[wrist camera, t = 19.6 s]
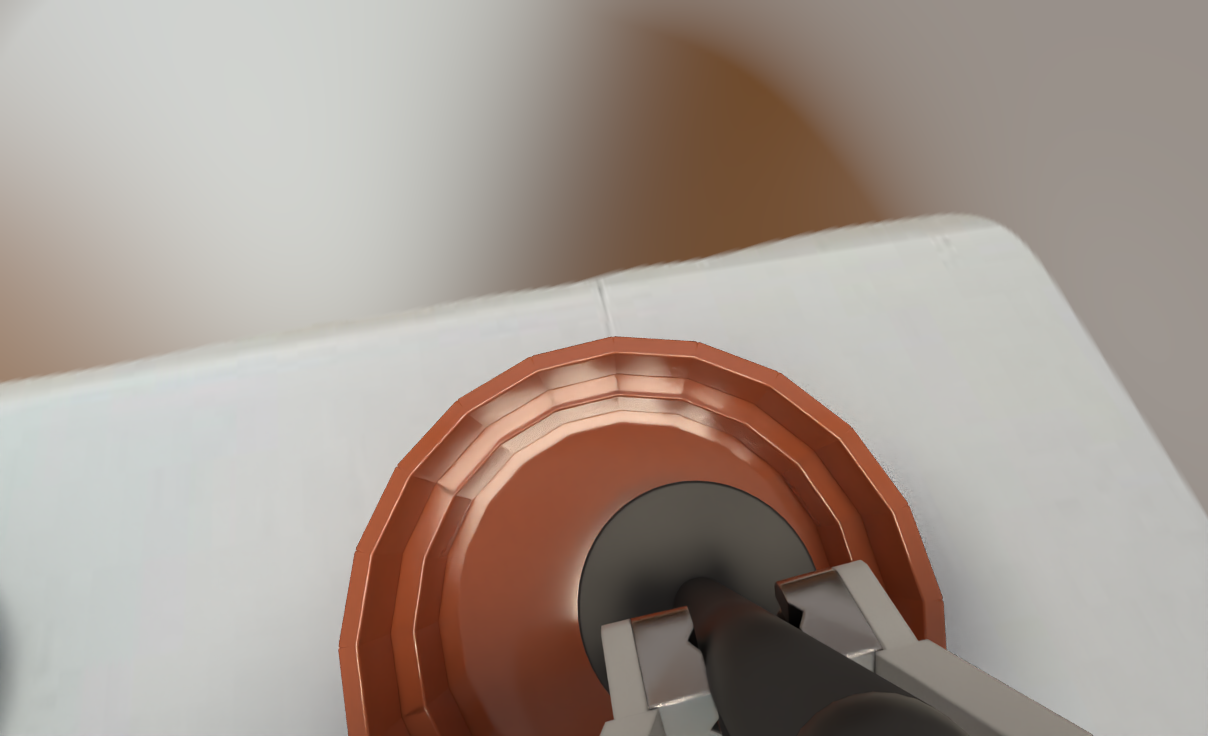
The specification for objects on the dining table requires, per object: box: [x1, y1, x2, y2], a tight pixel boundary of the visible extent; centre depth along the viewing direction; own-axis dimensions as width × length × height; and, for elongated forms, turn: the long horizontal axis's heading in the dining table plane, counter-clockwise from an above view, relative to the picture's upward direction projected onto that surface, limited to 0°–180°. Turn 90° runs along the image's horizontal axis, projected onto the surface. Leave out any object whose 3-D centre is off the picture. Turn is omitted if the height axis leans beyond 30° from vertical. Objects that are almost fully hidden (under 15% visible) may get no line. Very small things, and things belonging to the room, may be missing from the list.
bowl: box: [338, 336, 946, 736], centre depth 21 cm, size 17×17×6 cm
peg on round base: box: [577, 480, 970, 736], centre depth 11 cm, size 7×7×16 cm
